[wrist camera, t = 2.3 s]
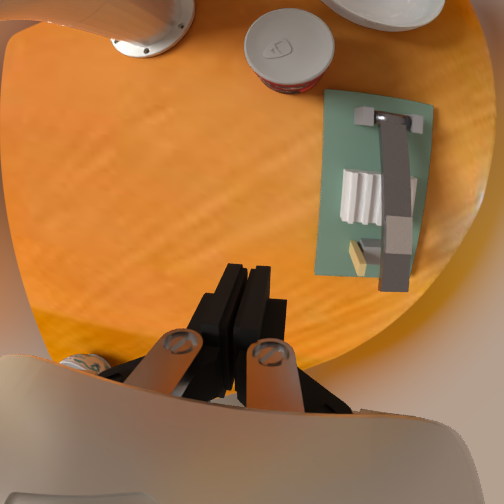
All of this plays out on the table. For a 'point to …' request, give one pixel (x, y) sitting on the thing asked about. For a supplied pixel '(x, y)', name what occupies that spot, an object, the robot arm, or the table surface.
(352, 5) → the cereal bowl
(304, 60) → the canned food
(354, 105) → the clamp board
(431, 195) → the table surface
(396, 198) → the grey hinged clamp lever
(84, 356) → the chinaware
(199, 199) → the table surface
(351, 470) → the robot arm
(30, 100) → the table surface
